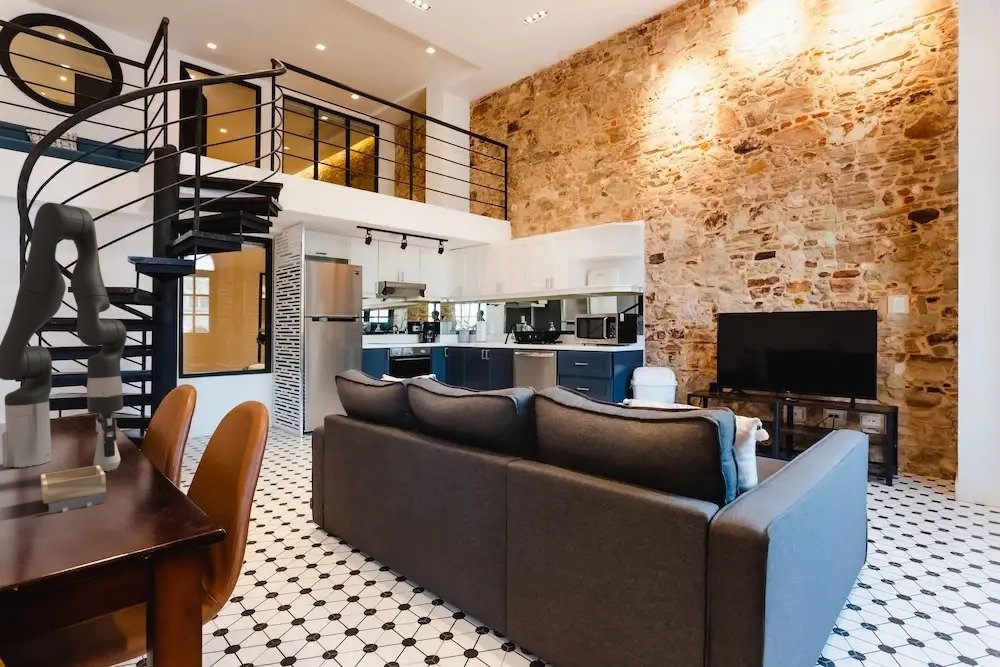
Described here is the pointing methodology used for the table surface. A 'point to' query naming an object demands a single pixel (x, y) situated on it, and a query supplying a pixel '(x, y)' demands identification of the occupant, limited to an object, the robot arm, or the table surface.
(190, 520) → the table surface
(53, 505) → the rail
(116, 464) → the salt shaker
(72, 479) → the wooden tray
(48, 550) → the table surface
